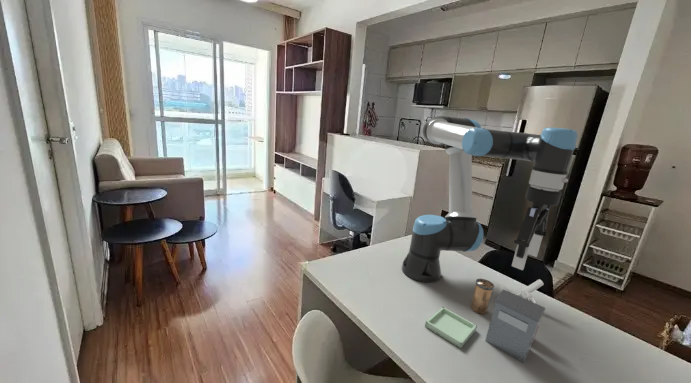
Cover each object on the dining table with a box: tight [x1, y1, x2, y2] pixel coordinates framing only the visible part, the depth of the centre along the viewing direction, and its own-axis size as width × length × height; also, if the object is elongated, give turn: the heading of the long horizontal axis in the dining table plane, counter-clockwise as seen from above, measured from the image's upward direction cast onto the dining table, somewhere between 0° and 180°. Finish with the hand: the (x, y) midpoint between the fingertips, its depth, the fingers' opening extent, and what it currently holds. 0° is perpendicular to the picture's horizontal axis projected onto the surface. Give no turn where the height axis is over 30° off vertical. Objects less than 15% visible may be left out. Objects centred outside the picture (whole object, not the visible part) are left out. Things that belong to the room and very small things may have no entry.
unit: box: [484, 289, 546, 364], centre depth 82 cm, size 11×8×14 cm
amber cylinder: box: [470, 278, 495, 315], centre depth 97 cm, size 5×5×10 cm
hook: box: [515, 278, 545, 304], centre depth 104 cm, size 8×12×7 cm
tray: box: [424, 306, 478, 350], centre depth 88 cm, size 11×11×2 cm
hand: (524, 261), depth 82 cm, fingers open, 13 cm apart
